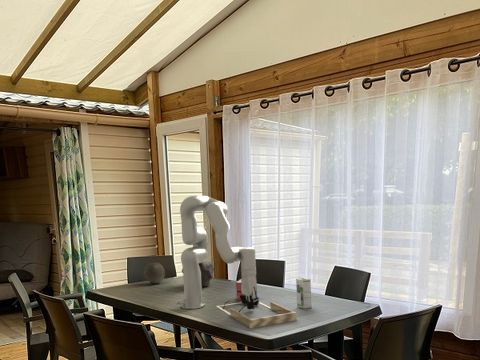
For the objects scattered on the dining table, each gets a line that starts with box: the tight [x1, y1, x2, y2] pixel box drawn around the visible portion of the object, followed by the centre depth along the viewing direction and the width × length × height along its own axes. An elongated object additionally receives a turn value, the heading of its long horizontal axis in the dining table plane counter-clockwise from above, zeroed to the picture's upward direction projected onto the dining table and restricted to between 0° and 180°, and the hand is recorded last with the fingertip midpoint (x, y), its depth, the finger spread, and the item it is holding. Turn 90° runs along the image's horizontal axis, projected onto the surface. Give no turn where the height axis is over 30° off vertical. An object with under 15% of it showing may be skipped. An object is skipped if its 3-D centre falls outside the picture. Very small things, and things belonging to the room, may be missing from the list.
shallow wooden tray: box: [229, 301, 298, 329], centre depth 197 cm, size 23×24×4 cm
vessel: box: [181, 258, 215, 288], centre depth 277 cm, size 24×22×30 cm
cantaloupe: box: [143, 261, 166, 285], centre depth 294 cm, size 14×14×15 cm
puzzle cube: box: [235, 279, 258, 301], centre depth 238 cm, size 10×10×10 cm
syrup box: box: [295, 277, 312, 310], centre depth 213 cm, size 6×6×14 cm
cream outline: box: [215, 301, 272, 316], centre depth 218 cm, size 23×20×1 cm
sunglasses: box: [222, 295, 260, 313], centre depth 217 cm, size 14×16×5 cm
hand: (250, 308), depth 209 cm, fingers closed
